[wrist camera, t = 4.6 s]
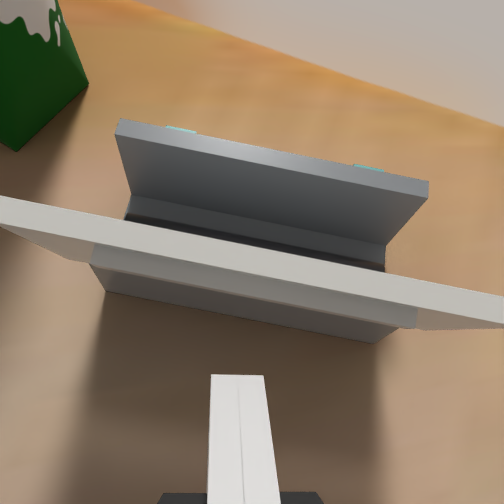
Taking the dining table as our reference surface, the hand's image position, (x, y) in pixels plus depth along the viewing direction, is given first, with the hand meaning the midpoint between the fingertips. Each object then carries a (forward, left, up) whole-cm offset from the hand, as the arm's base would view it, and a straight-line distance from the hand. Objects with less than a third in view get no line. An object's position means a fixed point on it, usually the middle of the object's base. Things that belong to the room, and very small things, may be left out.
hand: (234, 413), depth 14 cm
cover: (0, +5, -2) cm, 6 cm away
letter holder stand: (0, +10, -12) cm, 16 cm away
